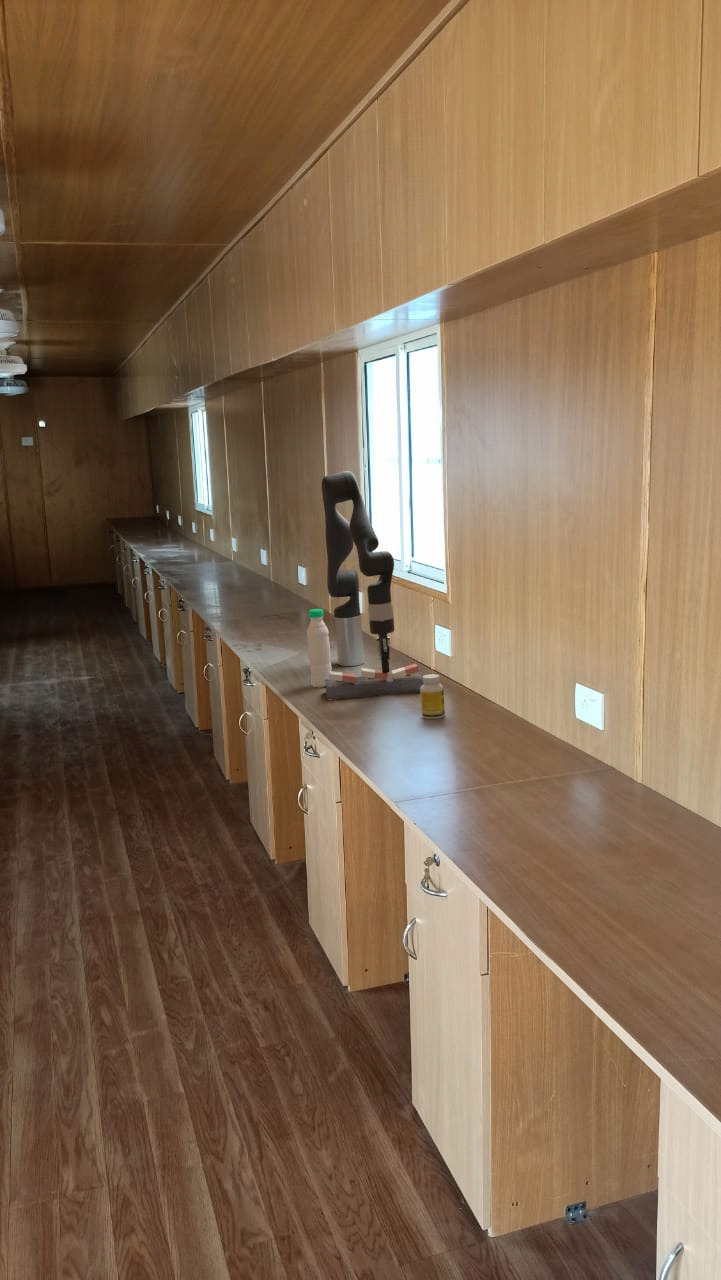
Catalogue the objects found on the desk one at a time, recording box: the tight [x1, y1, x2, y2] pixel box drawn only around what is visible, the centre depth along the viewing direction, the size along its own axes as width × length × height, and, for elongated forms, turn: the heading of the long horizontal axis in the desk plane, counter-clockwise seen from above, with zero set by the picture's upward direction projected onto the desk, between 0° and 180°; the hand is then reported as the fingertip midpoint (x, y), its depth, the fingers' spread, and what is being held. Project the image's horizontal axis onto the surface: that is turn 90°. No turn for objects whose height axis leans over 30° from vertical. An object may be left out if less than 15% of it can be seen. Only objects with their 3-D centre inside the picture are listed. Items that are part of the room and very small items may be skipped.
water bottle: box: [306, 608, 333, 688], centre depth 318 cm, size 7×7×25 cm
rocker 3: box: [391, 663, 420, 679], centre depth 305 cm, size 4×8×2 cm, turn 94°
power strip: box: [325, 670, 424, 701], centre depth 307 cm, size 10×30×4 cm, turn 94°
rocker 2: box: [360, 667, 389, 680], centre depth 304 cm, size 4×8×2 cm, turn 94°
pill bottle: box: [419, 673, 446, 720], centre depth 274 cm, size 6×6×12 cm
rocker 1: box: [329, 670, 356, 683], centre depth 304 cm, size 4×8×2 cm, turn 94°
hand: (385, 672), depth 304 cm, fingers closed
